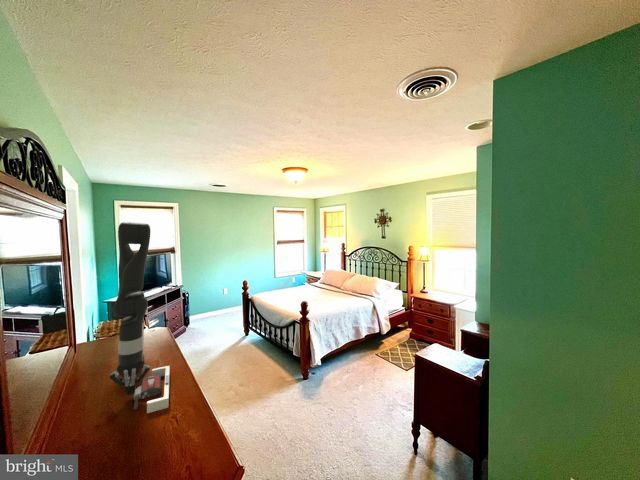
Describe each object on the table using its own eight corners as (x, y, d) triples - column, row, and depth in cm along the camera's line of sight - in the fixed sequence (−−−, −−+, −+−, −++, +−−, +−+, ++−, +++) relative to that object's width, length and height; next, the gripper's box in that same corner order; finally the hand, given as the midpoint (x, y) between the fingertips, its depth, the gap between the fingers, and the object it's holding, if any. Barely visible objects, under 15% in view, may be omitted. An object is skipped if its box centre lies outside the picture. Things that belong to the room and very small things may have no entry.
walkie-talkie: (136, 384, 106) (131, 413, 89) (136, 374, 106) (131, 401, 89) (161, 378, 110) (160, 405, 94) (161, 368, 110) (161, 393, 93)
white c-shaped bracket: (152, 376, 111) (152, 367, 111) (169, 373, 115) (169, 364, 115) (146, 413, 89) (146, 402, 89) (168, 407, 92) (168, 396, 92)
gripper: (152, 342, 103) (151, 384, 103) (110, 349, 97) (110, 393, 97) (150, 349, 97) (150, 394, 97) (106, 357, 90) (105, 405, 90)
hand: (130, 394), depth 97 cm, fingers closed
